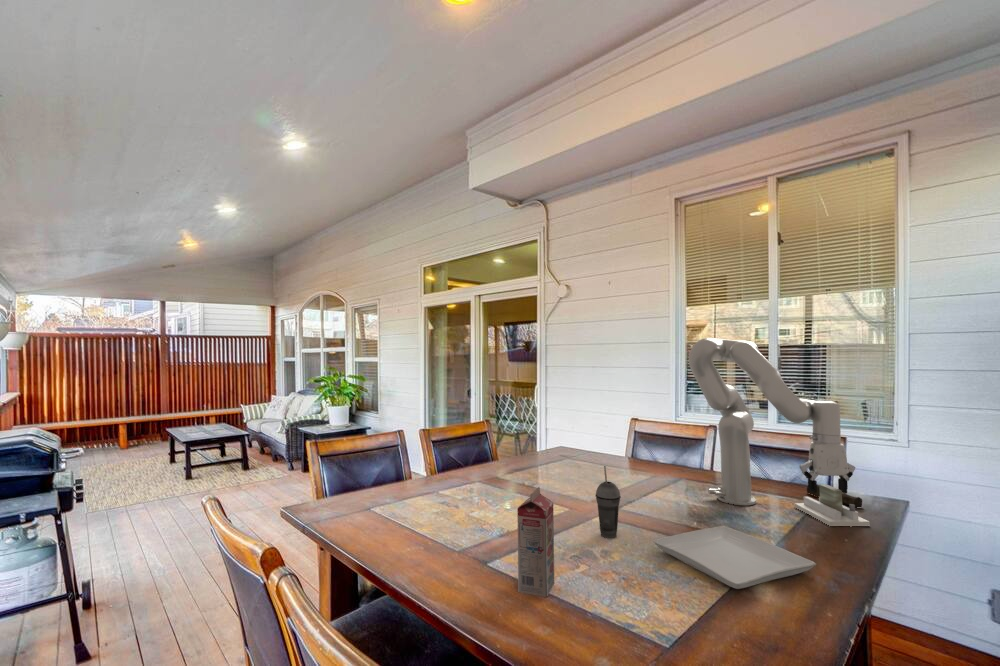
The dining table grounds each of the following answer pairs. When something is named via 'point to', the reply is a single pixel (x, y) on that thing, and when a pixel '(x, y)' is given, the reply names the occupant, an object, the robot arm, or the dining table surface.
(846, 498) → the hand tool
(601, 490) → the beverage cup
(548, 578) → the juice carton
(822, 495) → the rectangular block
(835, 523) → the slider channel
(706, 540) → the square plate
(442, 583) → the dining table surface
